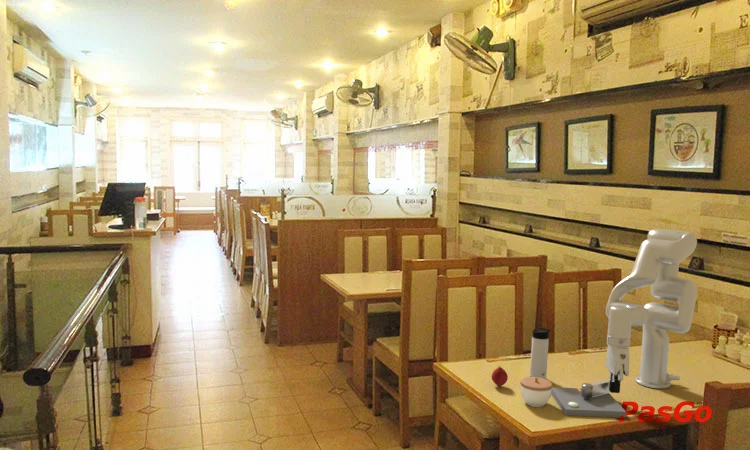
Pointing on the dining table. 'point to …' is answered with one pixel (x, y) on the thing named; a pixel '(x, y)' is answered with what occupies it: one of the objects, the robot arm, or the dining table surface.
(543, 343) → the travel mug
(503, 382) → the onion
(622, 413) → the base
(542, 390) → the lidded jar
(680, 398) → the dining table surface
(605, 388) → the light grey rectangular bar
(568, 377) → the dining table surface
